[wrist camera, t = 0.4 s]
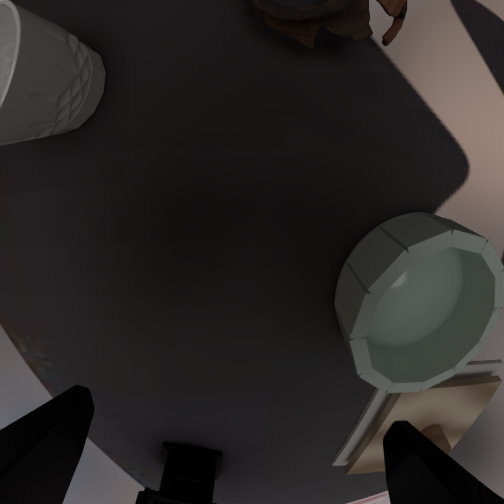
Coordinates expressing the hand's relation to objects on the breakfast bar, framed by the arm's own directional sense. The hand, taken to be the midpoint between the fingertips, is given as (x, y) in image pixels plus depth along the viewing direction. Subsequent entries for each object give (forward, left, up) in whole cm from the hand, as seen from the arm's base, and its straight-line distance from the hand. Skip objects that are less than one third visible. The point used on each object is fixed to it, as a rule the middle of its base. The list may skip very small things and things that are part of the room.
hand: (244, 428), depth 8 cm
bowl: (-1, -12, -14) cm, 19 cm away
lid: (-16, -21, -14) cm, 30 cm away
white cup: (+10, +15, -14) cm, 23 cm away
